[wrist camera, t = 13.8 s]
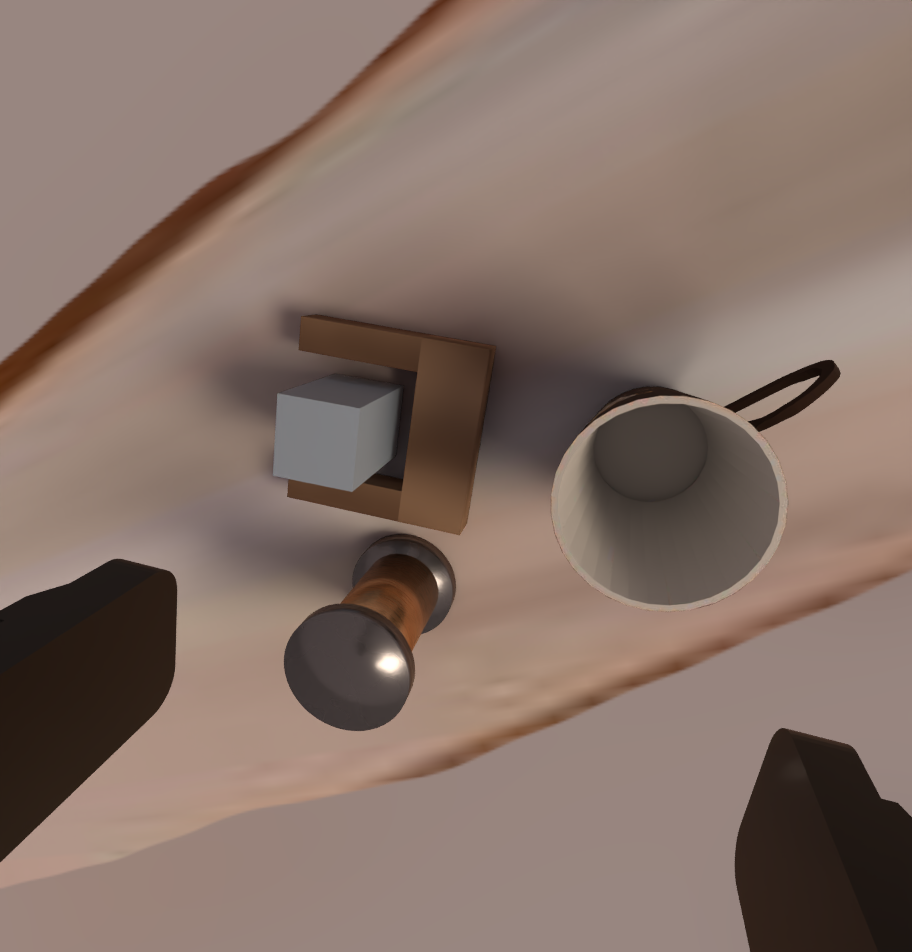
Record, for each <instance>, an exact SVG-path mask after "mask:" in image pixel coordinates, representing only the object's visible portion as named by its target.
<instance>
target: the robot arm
mask: <svg viewBox="0 0 912 952" xmlns="http://www.w3.org/2000/svg"><path fill="white" fill-rule="evenodd" d="M176 616H177V583H176V579H175V577H174V575H173V574H172V573H171V572H170V571H167V570H163V569H159V568H155V567H151V566H147V565H143V564H139V563H135V562H131V561H128V560H124V559H113V560H111V561H108V562H107V563H105V564H103V565H101V566H100V567H98V568H96V569H94V570H93V571H91V572H89V573H87V574H85V575H84V576H82V577H80V578H78V579H77V580H75V581H73V582H71V583H69V584H66V585H63V586H59V587H56V588H53V589H49V590H46V591H43V592H39V593H36V594H33V595H29V596H26V597H24V598H22V599H21V600H19V601H17V602H15V603H13V604H11V605H10V606H8V607H6V608H4V609H2V610H0V862H1V861H2V860H3V859H4V858H5V857H6V856H7V855H8V854H9V853H10V852H12V851H13V850H14V849H15V848H16V847H17V846H18V845H19V844H20V843H21V842H22V841H23V840H24V839H25V838H26V837H27V836H28V835H29V834H30V833H31V832H32V831H33V830H34V829H35V828H36V827H38V826H39V825H40V824H41V823H42V822H43V821H44V820H45V819H46V818H47V817H48V816H49V815H50V814H51V813H52V812H53V811H54V810H55V809H56V808H57V807H58V806H59V805H60V804H61V803H62V802H64V801H65V800H66V799H67V798H68V797H69V796H70V795H71V794H72V793H73V792H74V791H75V790H76V789H77V788H78V787H79V786H80V785H81V784H82V783H83V782H84V781H85V780H86V779H87V778H88V777H90V776H91V775H92V774H93V773H94V772H95V771H96V770H97V769H98V768H99V767H100V766H101V765H102V764H103V763H104V762H105V761H106V760H107V759H108V758H109V757H110V756H111V755H112V754H113V753H114V752H116V751H117V750H118V749H119V748H120V747H121V746H122V745H123V744H124V743H125V742H126V741H127V740H128V739H129V738H130V737H131V736H132V735H133V734H134V733H135V732H136V731H137V730H138V729H139V728H140V727H142V726H143V725H144V724H145V723H146V722H147V721H148V720H149V719H150V718H151V717H152V716H153V715H154V714H155V713H156V712H157V710H158V709H159V708H160V706H161V705H162V703H163V702H164V700H165V698H166V696H167V694H168V692H169V690H170V687H171V684H172V681H173V677H174V672H175V654H176ZM735 878H736V885H737V891H738V895H739V900H740V905H741V909H742V915H743V919H744V924H745V929H746V933H747V938H748V943H749V947H750V952H912V817H911V816H910V815H909V814H908V813H907V812H906V811H905V810H904V809H903V808H902V807H901V806H900V805H899V804H898V803H896V802H892V801H888V800H884V799H881V798H880V796H879V794H878V792H877V790H876V788H875V786H874V784H873V782H872V780H871V779H870V777H869V775H868V773H867V771H866V769H865V767H864V765H863V763H862V761H861V760H860V758H859V756H858V754H857V752H856V751H855V749H854V748H853V747H852V746H850V745H848V744H845V743H841V742H836V741H832V740H829V739H825V738H820V737H817V736H813V735H809V734H805V733H801V732H797V731H793V730H789V729H785V728H781V729H779V730H778V731H777V732H776V733H775V734H774V736H773V737H772V739H771V742H770V744H769V747H768V750H767V752H766V755H765V758H764V761H763V764H762V766H761V769H760V772H759V775H758V777H757V780H756V783H755V786H754V789H753V791H752V794H751V797H750V800H749V803H748V805H747V808H746V811H745V814H744V817H743V820H742V822H741V825H740V828H739V832H738V837H737V842H736V851H735Z"/></svg>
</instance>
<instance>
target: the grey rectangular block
mask: <svg viewBox="0 0 912 952" xmlns="http://www.w3.org/2000/svg"><path fill="white" fill-rule="evenodd" d="M403 389H404V386H403V385H397V384H392V383H386V382H380V381H374V380H369V379H363V378H357V377H352V376H346V375H340V374H332V375H329V376H327V377H324V378H321V379H318V380H315V381H312V382H309V383H306V384H303V385H300V386H297V387H294V388H292V389H289V390H286V391H283V392H280V393H277V411H276V429H275V447H274V465H273V476H277V477H282V478H287V479H291V480H296V481H301V482H306V483H311V484H316V485H321V486H326V487H331V488H336V489H340V490H345V491H350V492H353V491H354V490H355V489H356V488H358V487H359V486H360V485H361V484H362V483H364V482H365V481H366V480H367V479H368V478H370V477H371V476H372V475H373V474H374V473H376V472H377V471H378V470H379V469H380V468H382V467H383V466H384V465H385V464H386V463H388V462H389V461H390V460H391V459H392V458H394V457H395V456H396V451H397V443H398V434H399V425H400V416H401V407H402V398H403Z"/></svg>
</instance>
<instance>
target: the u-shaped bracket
mask: <svg viewBox="0 0 912 952" xmlns="http://www.w3.org/2000/svg"><path fill="white" fill-rule="evenodd" d="M299 350H301V351H306V352H312V353H317V354H322V355H328V356H333V357H339V358H344V359H349V360H355V361H360V362H366V363H371V364H376V365H382V366H387V367H393V368H398V369H403V370H409V371H414V372H417V379H416V387H415V395H414V402H413V410H412V417H411V425H410V432H409V440H408V448H407V455H406V463H405V470H404V478H403V479H399V478H395V477H390V476H385V475H380V474H376V473H374V474H373V475H372V476H371V477H370V478H368V479H367V480H366V481H365V482H364V483H362V484H361V485H360V486H359V487H358V488H356V489H355V490H354V491H353V492H350V491H345V490H340V489H336V488H331V487H326V486H321V485H316V484H311V483H306V482H301V481H296V480H291V479H289V481H288V494H287V497H290V498H295V499H299V500H304V501H308V502H313V503H317V504H322V505H326V506H331V507H335V508H340V509H344V510H349V511H353V512H358V513H362V514H367V515H371V516H376V517H380V518H385V519H389V520H394V521H398V522H403V523H407V524H412V525H416V526H421V527H425V528H430V529H434V530H439V531H443V532H448V533H452V534H457V535H460V534H461V532H462V531H463V529H464V527H465V525H466V524H467V520H468V514H469V508H470V502H471V496H472V490H473V483H474V477H475V471H476V465H477V459H478V453H479V447H480V441H481V435H482V429H483V423H484V417H485V411H486V405H487V399H488V393H489V387H490V381H491V375H492V369H493V363H494V356H495V350H496V346H493V345H487V344H482V343H476V342H470V341H465V340H459V339H453V338H448V337H442V336H436V335H431V334H425V333H419V332H414V331H408V330H402V329H397V328H391V327H385V326H379V325H374V324H368V323H362V322H357V321H351V320H345V319H340V318H334V317H328V316H323V315H308V316H301V326H300V339H299Z"/></svg>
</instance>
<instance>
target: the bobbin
mask: <svg viewBox="0 0 912 952" xmlns="http://www.w3.org/2000/svg"><path fill="white" fill-rule="evenodd" d="M352 584H353V589H352V590H351V591H350V593H349V594H348V595H347V596H346V597H345V599H344V600H343V601H342V602H341V603H340V604H333V605H328V606H325V607H323V608H320V609H318V610H316V611H315V612H313V613H312V614H311V615H309V616H308V617H307V618H306V619H305V620H304V621H303V622H302V624H301V625H300V626H299V627H298V628H297V629H296V630H295V631H294V633H293V634H292V636H291V637H290V639H289V641H288V643H287V646H286V649H285V655H284V669H285V675H286V678H287V681H288V684H289V687H290V689H291V690H292V692H293V694H294V696H295V697H296V699H297V700H298V701H299V702H300V704H301V705H302V706H303V707H304V708H305V709H306V710H307V711H308V712H309V713H311V714H312V715H313V716H315V717H316V718H317V719H319V720H321V721H322V722H324V723H326V724H329V725H331V726H333V727H336V728H340V729H344V730H351V731H365V730H371V729H374V728H378V727H380V726H382V725H384V724H386V723H388V722H389V721H391V720H392V719H393V718H394V717H395V716H396V715H397V714H398V713H399V712H400V710H401V709H402V707H403V705H404V704H405V701H406V699H407V697H408V695H409V693H410V691H411V688H412V686H413V682H414V677H415V663H414V658H413V654H412V650H413V648H414V646H415V644H416V643H417V641H418V639H419V637H420V635H421V634H423V633H426V632H428V631H430V630H432V629H434V628H435V627H437V626H438V625H439V624H440V623H441V622H442V621H443V620H444V618H445V617H446V615H447V613H448V612H449V609H450V607H451V605H452V603H453V600H454V597H455V591H456V581H455V575H454V572H453V569H452V567H451V565H450V563H449V561H448V560H447V558H446V557H445V556H444V554H443V553H442V552H441V551H440V550H439V549H438V548H437V547H435V546H434V545H433V544H431V543H430V542H428V541H426V540H424V539H422V538H419V537H416V536H412V535H405V534H398V535H391V536H387V537H384V538H382V539H380V540H378V541H376V542H375V543H374V544H373V545H371V546H370V547H369V548H368V549H367V551H366V552H365V553H364V554H363V555H362V556H361V558H360V559H359V560H358V562H357V564H356V567H355V569H354V573H353V582H352Z"/></svg>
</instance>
